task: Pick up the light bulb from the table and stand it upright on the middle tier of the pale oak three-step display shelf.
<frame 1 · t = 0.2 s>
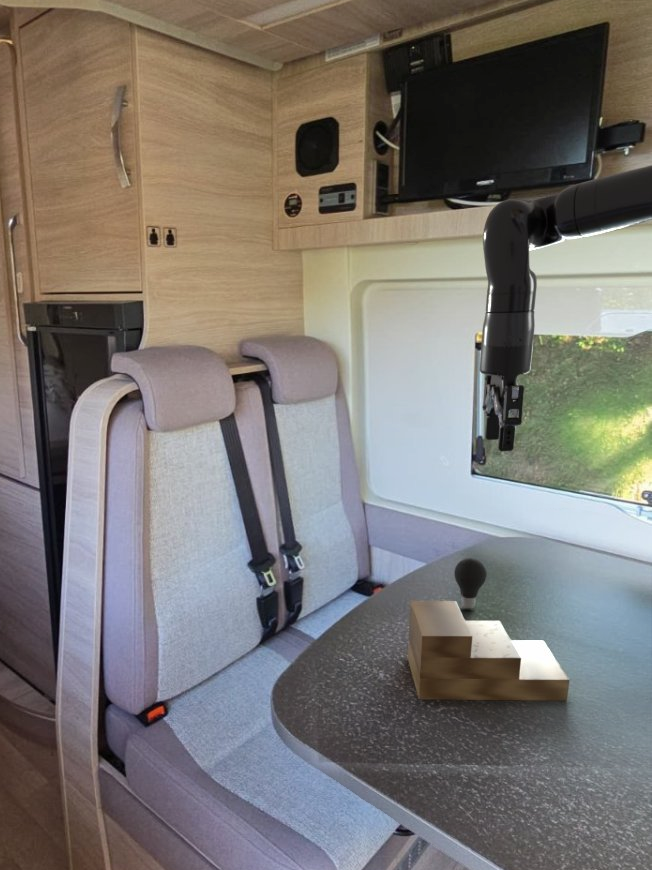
hand: (498, 444, 117), 32 cm above the table, tool pointing down, fingers open, 8 cm apart
step shelf: (482, 678, 111), on the table
light bulb: (467, 609, 134), on the table
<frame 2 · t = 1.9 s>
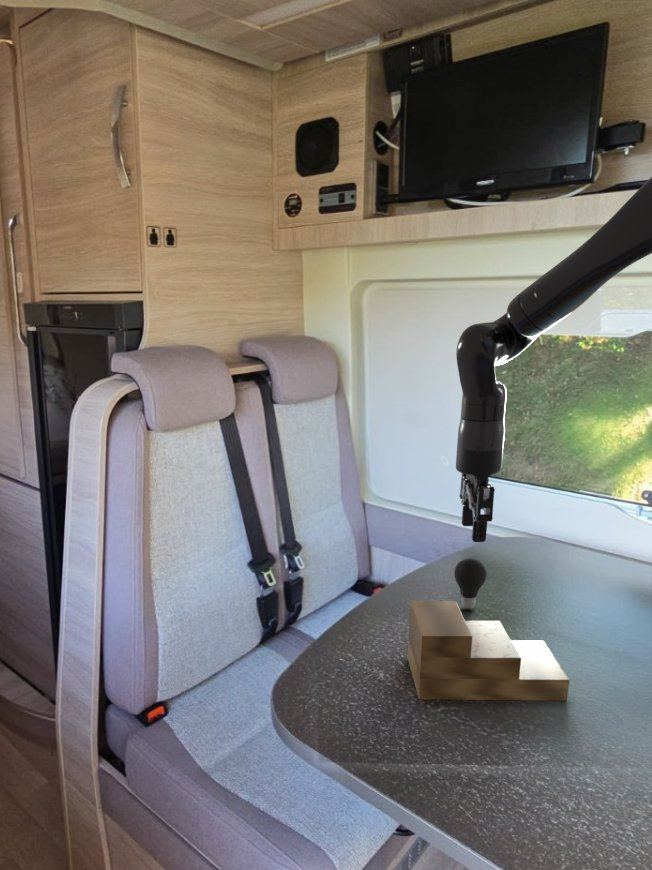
hand: (473, 533, 129), 15 cm above the table, tool pointing down, fingers open, 8 cm apart
nothing on the table moved.
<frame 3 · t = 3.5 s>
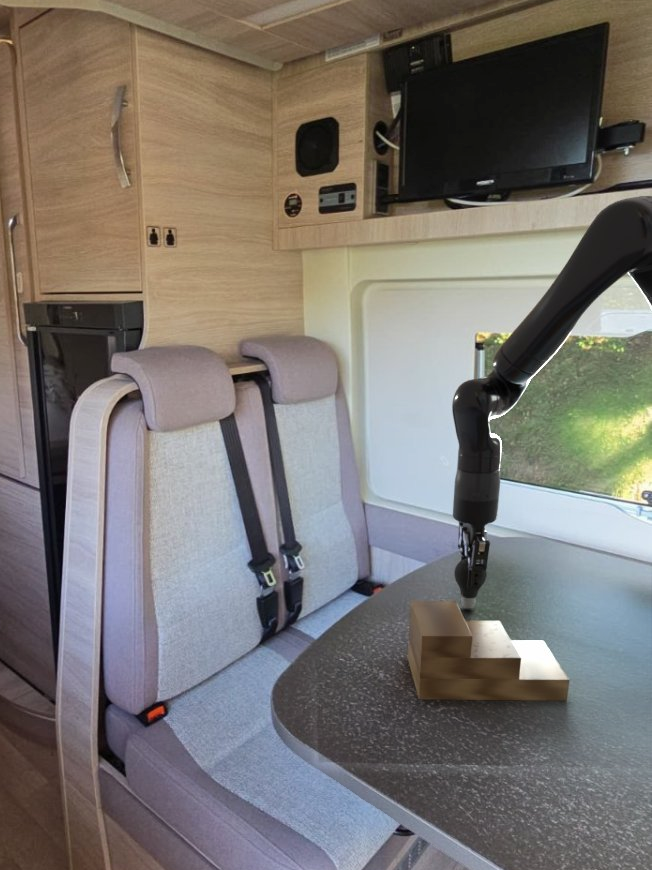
hand: (469, 581, 132), 6 cm above the table, tool pointing down, fingers closed on light bulb, 5 cm apart
light bulb: (467, 609, 134), on the table, touching gripper
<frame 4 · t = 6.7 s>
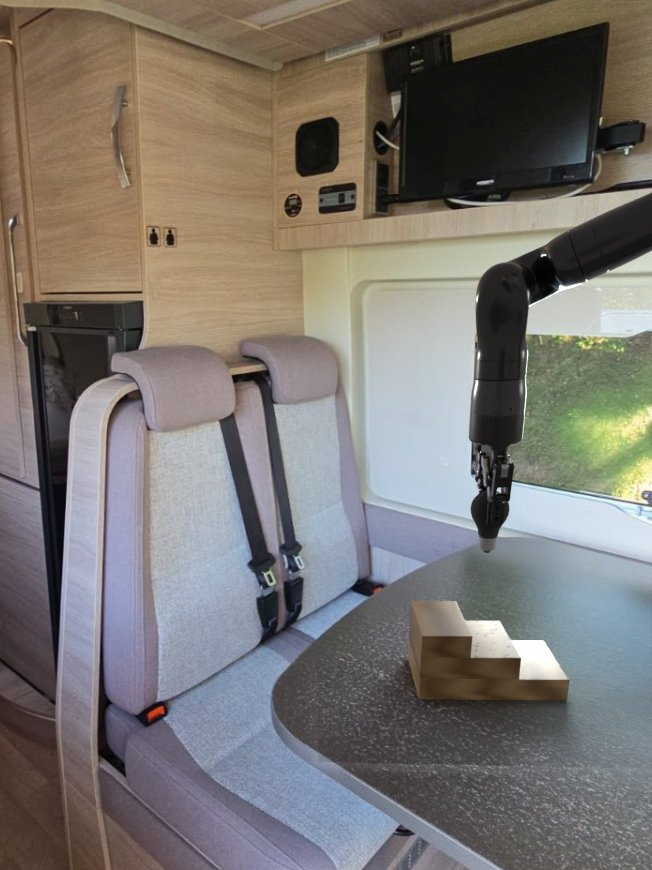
hand: (489, 518, 110), 23 cm above the table, tool pointing down, fingers closed on light bulb, 5 cm apart
light bulb: (486, 553, 112), point 17 cm above the table, touching gripper
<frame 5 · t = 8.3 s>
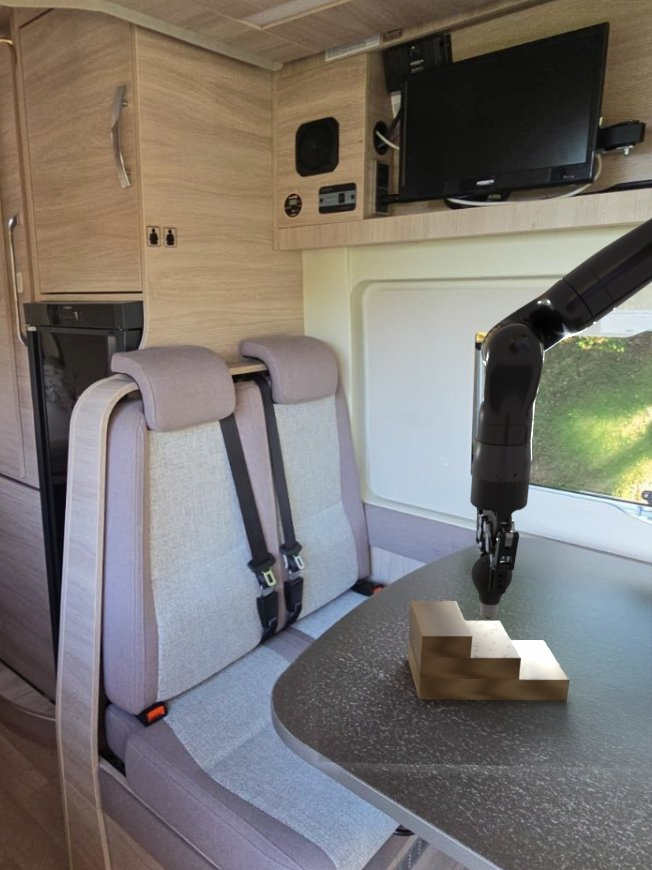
hand: (491, 583, 105), 16 cm above the table, tool pointing down, fingers closed on light bulb, 5 cm apart
light bulb: (487, 619, 107), point 10 cm above the table, touching gripper
when the fingers open (13 cm above the table, at t = 9.8 s): light bulb stays where it is, resting on step shelf.
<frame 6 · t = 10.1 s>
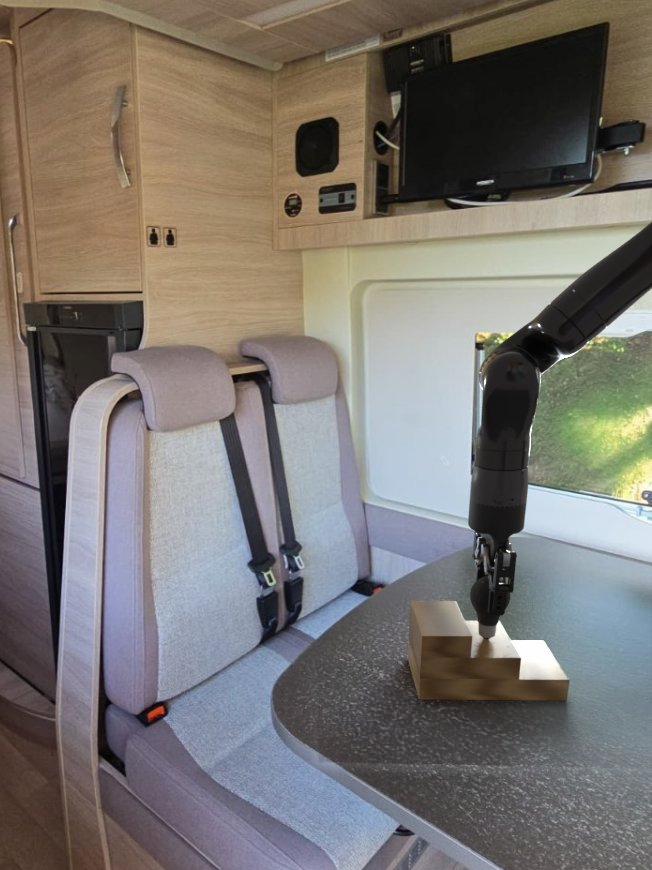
hand: (489, 602, 106), 13 cm above the table, tool pointing down, fingers open, 7 cm apart
light bulb: (486, 639, 108), point 7 cm above the table, touching step shelf
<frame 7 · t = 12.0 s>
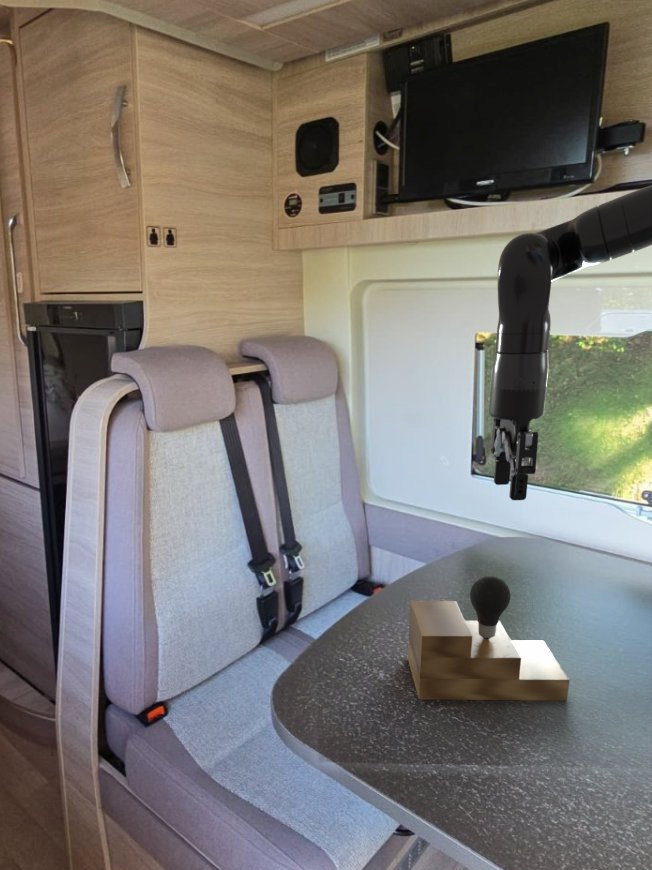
hand: (509, 491, 109), 27 cm above the table, tool pointing down, fingers open, 8 cm apart
nothing on the table moved.
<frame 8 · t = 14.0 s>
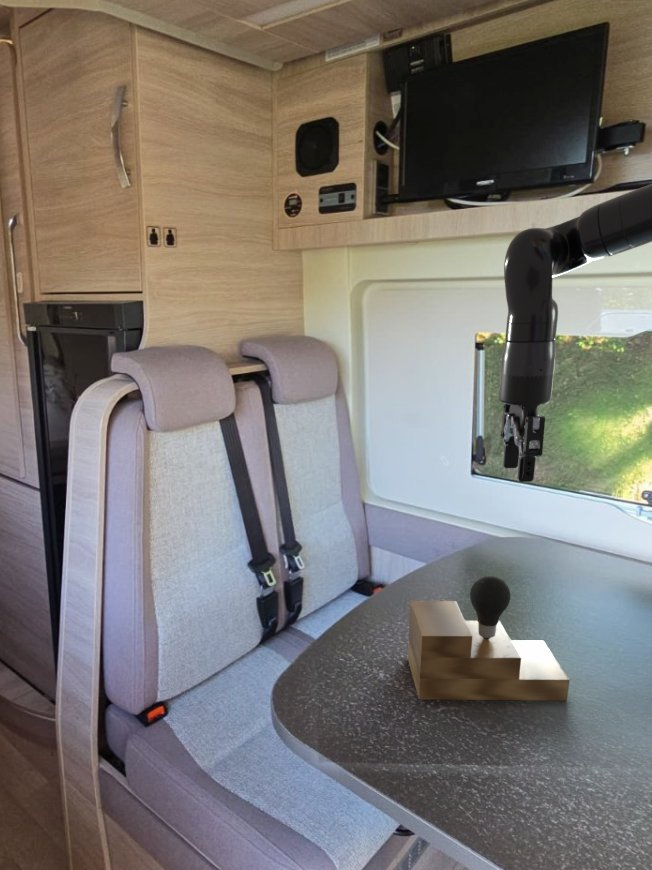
hand: (517, 474, 115), 28 cm above the table, tool pointing down, fingers open, 8 cm apart
nothing on the table moved.
at the end: light bulb inside the target area on the step shelf (0.0 cm from its centre), point 6.8 cm above the step shelf's base; light bulb tilted 0°; the gripper is holding nothing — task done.
